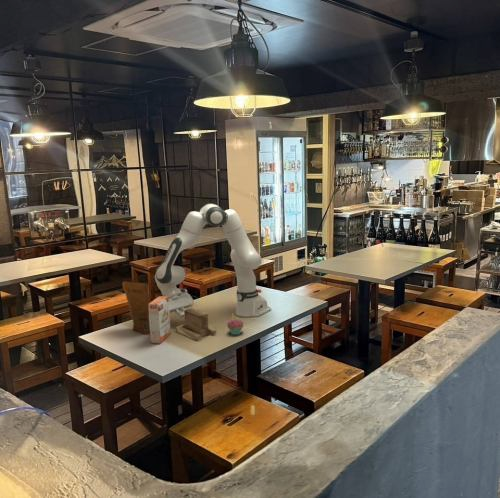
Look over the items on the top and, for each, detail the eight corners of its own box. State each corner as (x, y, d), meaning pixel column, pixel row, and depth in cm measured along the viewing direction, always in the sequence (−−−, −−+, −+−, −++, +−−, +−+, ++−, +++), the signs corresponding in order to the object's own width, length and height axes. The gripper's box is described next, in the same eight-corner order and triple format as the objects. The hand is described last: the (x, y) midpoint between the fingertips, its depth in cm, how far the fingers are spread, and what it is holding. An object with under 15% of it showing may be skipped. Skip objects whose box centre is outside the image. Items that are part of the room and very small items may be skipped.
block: (193, 329, 248) (191, 307, 246) (208, 335, 238) (207, 313, 236) (185, 331, 245) (184, 310, 242) (201, 338, 235) (199, 316, 232)
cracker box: (161, 344, 229) (158, 304, 225) (150, 343, 230) (147, 303, 226) (171, 333, 242) (169, 296, 238) (161, 333, 243) (158, 295, 239)
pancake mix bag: (147, 337, 238) (143, 285, 233) (125, 329, 250) (120, 280, 245) (157, 333, 244) (153, 282, 238) (135, 326, 255) (131, 277, 250)
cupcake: (237, 337, 234) (236, 315, 232) (224, 334, 238) (223, 312, 236) (246, 331, 241) (245, 310, 239) (233, 329, 246) (232, 307, 243)
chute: (194, 325, 253) (194, 321, 253) (216, 334, 239) (216, 329, 238) (176, 331, 245) (175, 327, 245) (198, 341, 231) (197, 336, 230)
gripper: (157, 296, 245) (168, 318, 240) (188, 288, 259) (199, 308, 254) (153, 302, 249) (164, 324, 244) (184, 294, 263) (195, 314, 258)
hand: (182, 316), depth 249 cm, fingers closed
